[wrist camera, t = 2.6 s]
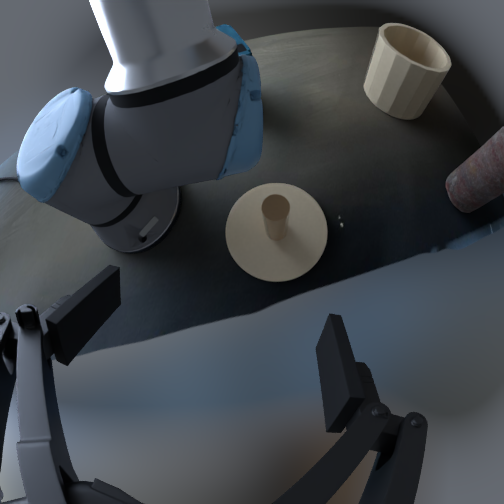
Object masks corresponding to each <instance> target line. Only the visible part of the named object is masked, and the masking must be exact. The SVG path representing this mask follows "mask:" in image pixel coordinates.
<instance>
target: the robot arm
mask: <svg viewBox="0 0 504 504" xmlns="http://www.w3.org/2000/svg"><path fill="white" fill-rule="evenodd" d="M90 3H91V6H92V8H93V11H94V14H95V16H96V19H97V22H98V24H99V26H100V29H101V32H102V34H103V37H104V39H105V42H106V44H107V47H108V49H109V52H110V54H111V56H112V59H113V61H114V62H113V66H112V69H111V71H110V73H109V75H108V78H107V80H106V83H105V89H106V91H107V93H108V94H106V95H103V96H101V97H98V98H95V99H93V98H92V96H91V94H90V93H89V92H88V91H85V90H83V89H80V88H77V87H76V88H70V89H67V90H65V91H63V92H61V93H60V94H58V95H57V96H56V97H54V98H53V99H52V100H51V101H50V102H49V103H48V104H47V105H46V106H45V107H44V108H43V109H42V110H41V112H40V113H39V114H38V115H37V117H36V118H35V120H34V121H33V123H32V124H31V126H30V128H29V129H28V132H27V133H26V135H25V138H24V140H23V142H22V145H21V148H20V151H19V155H18V160H17V177H3V178H0V181H4V180H17V181H19V183H20V184H21V187H22V188H23V189H24V190H25V191H26V192H27V193H29V194H30V195H32V196H33V197H34V198H36V199H37V200H38V201H39V202H41V203H42V202H43V203H46V204H48V205H50V206H52V207H54V208H56V209H58V210H60V211H62V212H65V213H67V214H69V215H71V216H73V217H75V218H77V219H79V220H81V221H83V222H85V223H88V224H90V225H91V227H92V228H93V230H94V231H95V232H96V234H97V235H98V236H99V238H100V239H101V240H102V241H103V242H104V243H105V244H106V245H107V246H109V247H110V248H112V249H115V250H117V251H120V252H123V253H130V254H133V253H140V252H144V251H146V250H149V249H151V248H153V247H154V246H156V245H157V244H159V243H160V242H161V241H162V240H163V239H164V238H165V237H166V236H167V235H168V234H169V232H170V231H171V230H172V228H173V226H174V225H175V223H176V220H177V218H178V215H179V212H180V208H181V189H180V186H182V185H187V184H192V183H198V182H203V181H208V180H214V179H216V180H219V179H222V178H223V177H224V176H229V175H233V174H237V173H242V172H246V171H248V170H250V169H252V168H253V167H254V166H255V165H256V164H257V163H258V161H259V159H260V156H261V152H262V143H263V107H262V100H261V81H260V74H259V68H258V64H257V62H256V59H255V58H254V57H252V56H247V55H245V54H242V55H239V54H238V49H237V44H236V41H235V39H233V38H232V37H230V36H228V35H227V34H225V33H223V32H221V31H219V30H217V29H216V28H215V27H214V25H213V21H212V16H211V12H210V8H209V3H208V0H90ZM120 305H121V298H120V267H116V266H112V265H109V266H108V267H106V268H105V269H104V270H103V271H101V272H100V273H99V274H98V275H96V276H95V277H94V278H93V279H91V280H90V281H89V282H88V283H86V284H85V285H84V286H83V287H82V288H80V289H79V290H78V291H77V292H76V293H74V294H73V295H72V296H70V295H67V296H65V297H62V298H60V299H59V300H58V301H57V302H56V303H55V304H53V305H52V306H51V307H50V308H48V309H47V310H46V311H45V312H44V313H43V314H41V315H40V316H39V314H38V310H37V307H36V306H34V305H31V304H26V305H22V306H20V307H19V308H18V309H17V310H16V312H15V314H16V317H17V321H18V323H16V322H11V319H10V316H9V315H8V314H7V313H4V312H2V313H0V471H1V463H2V452H3V444H4V436H5V429H6V423H7V418H8V412H9V407H10V402H11V398H12V394H13V389H14V385H15V381H16V378H17V408H18V421H19V429H20V442H17V454H18V460H19V466H20V471H21V476H22V480H23V485H24V489H25V493H26V497H22V498H19V499H15V500H11V501H7V502H3V503H1V500H2V499H3V492H2V491H1V488H0V504H143V503H141V502H139V501H138V500H136V499H134V498H133V497H131V496H130V495H128V494H126V493H125V492H124V491H122V490H121V489H119V488H116V487H114V486H112V485H110V484H107V483H105V482H103V481H101V480H99V479H96V478H95V480H94V482H88V481H79V479H78V477H77V475H76V473H75V471H74V469H73V467H72V463H71V460H70V456H69V453H68V449H67V446H66V442H65V437H64V433H63V429H62V424H61V420H60V415H59V409H58V404H57V398H56V391H55V385H54V377H53V368H52V360H51V356H52V355H53V353H54V354H55V357H56V360H57V361H58V362H60V363H62V364H64V365H66V366H68V365H69V363H70V362H71V361H72V360H73V359H74V358H75V356H76V355H77V354H78V353H79V352H80V350H81V349H82V348H83V347H84V346H85V344H86V343H87V342H88V341H89V340H90V339H91V337H92V336H93V335H94V334H95V333H96V332H97V330H98V329H99V328H100V327H101V326H102V325H103V324H104V322H105V321H106V320H107V319H108V318H109V317H110V316H111V315H112V313H113V312H114V311H115V310H116V309H117V308H118V307H119V306H120ZM316 354H317V361H318V369H319V376H320V383H321V391H322V399H323V407H324V416H325V424H326V432H332V433H341V432H342V431H343V429H344V428H345V427H346V429H347V431H346V432H345V433H344V435H343V436H342V437H341V438H340V439H339V440H338V441H337V442H336V443H335V445H334V446H333V447H332V448H331V449H330V450H329V451H328V452H327V453H326V454H325V455H324V456H323V457H322V458H321V459H320V460H319V461H318V462H317V463H316V464H315V465H314V466H313V467H312V468H311V469H310V470H309V471H308V472H307V473H306V474H305V475H304V476H303V477H302V478H301V479H300V480H299V481H298V482H297V483H295V484H294V485H293V486H292V487H291V488H290V489H289V490H288V491H286V492H285V493H284V494H283V495H282V496H281V497H279V498H278V499H277V500H276V501H275V502H273V503H272V504H326V502H327V501H328V500H329V499H330V498H331V497H332V496H333V495H334V494H335V493H336V491H337V490H338V489H339V488H340V487H341V485H342V484H343V483H344V482H345V481H346V480H347V478H348V477H349V476H350V475H351V473H352V472H353V471H354V470H355V468H356V467H357V466H358V465H359V463H360V462H361V461H362V459H363V458H364V457H365V455H366V454H367V453H368V451H369V450H373V451H377V452H378V453H377V456H376V459H375V462H374V465H373V468H372V471H371V473H370V476H369V479H368V482H367V484H366V487H365V489H364V492H363V494H362V497H361V499H360V502H359V504H414V500H415V496H416V492H417V488H418V483H419V479H420V474H421V469H422V463H423V457H424V451H425V444H426V436H427V427H428V424H427V421H426V418H425V417H424V416H423V415H421V414H419V413H417V412H411V413H409V414H407V416H406V417H405V418H404V417H400V416H397V415H393V414H391V412H390V410H389V408H388V407H387V406H386V405H385V404H382V403H381V402H380V399H379V396H378V393H377V390H376V387H375V384H374V380H373V378H372V374H371V372H370V369H369V368H368V367H367V365H366V364H365V363H362V362H355V358H354V355H353V352H352V349H351V345H350V342H349V339H348V336H347V332H346V330H345V327H344V323H343V320H342V317H341V315H335V314H329V316H328V318H327V321H326V323H325V326H324V329H323V331H322V334H321V336H320V339H319V341H318V344H317V346H316Z"/></svg>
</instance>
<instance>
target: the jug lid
mask: <svg viewBox="0 0 504 504" xmlns="http://www.w3.org/2000/svg"><path fill="white" fill-rule="evenodd" d="M226 242H227V246H228V249H229V251H230V254H231V255H232V257H233V259H234V260H235V262H236V263H237V264H238V265H239V266H240V267H241V268H242V269H243V270H244V271H245V272H247V273H248V274H250V275H252V276H253V277H255V278H258V279H261V280H265V281H270V282H283V281H289V280H292V279H295V278H298V277H300V276H302V275H303V274H305V273H306V272H308V271H309V270H310V269H311V268H312V267H313V266H314V265H315V264H316V263H317V262H318V260H319V259H320V257H321V255H322V253H323V252H324V249H325V246H326V242H327V223H326V219H325V216H324V213H323V211H322V209H321V207H320V206H319V205H318V203H317V202H316V201H315V200H314V199H313V197H311V196H310V195H309V194H308V193H306V192H305V191H303V190H302V189H300V188H298V187H295V186H292V185H289V184H284V183H270V184H264V185H261V186H258V187H255V188H253V189H251V190H250V191H248V192H246V193H245V194H244V195H243V196H242V197H240V198H239V199H238V201H237V202H236V203H235V204H234V206H233V208H232V209H231V211H230V213H229V216H228V219H227V223H226Z"/></svg>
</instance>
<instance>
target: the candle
mask: <svg viewBox="0 0 504 504" xmlns="http://www.w3.org/2000/svg"><path fill="white" fill-rule="evenodd" d="M446 189H447V192H448V195H449V198H450V200H451V202H452V204H453V205H454V206H455V207H456V208H458V209H459V210H460V211H462V212H465V213H470V212H472V211H474V210H476V209H478V208H479V207H481V206H483V205H484V204H486V203H488V202H489V201H491V200H493V199H494V198H496V197H498V196H499V195H501V194H502V193H504V126H503V127H502V128H501V129H500V130H499V131H498V132H497V133H496V134H495V135H493V136H492V138H490V139H489V140H488V141H487V142H486V143H485V144H484V145H483V146H482V147H481V148H480V149H478V150H477V151H476V152H475V153H474V154H473V155H471V156H470V157H469V158H468V159H467V160H466V161H465V162H463V163H462V164H461V165H460V166H459V167H457V168H456V169H455V170H454V171H453V172H452V173H451V174H450V175H449V176H448V178H447V180H446Z"/></svg>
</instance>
